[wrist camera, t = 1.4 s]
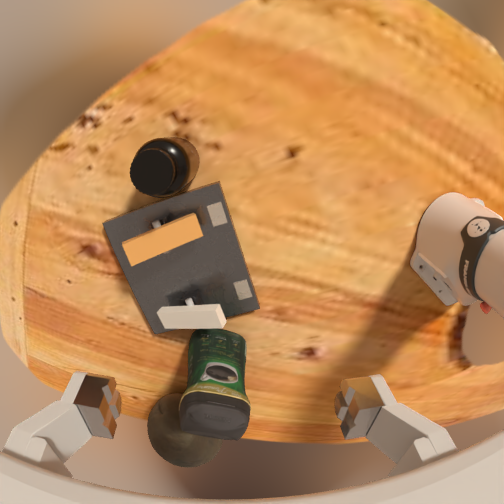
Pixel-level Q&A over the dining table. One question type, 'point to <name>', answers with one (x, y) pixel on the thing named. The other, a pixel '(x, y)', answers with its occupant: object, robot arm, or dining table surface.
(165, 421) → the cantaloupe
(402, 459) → the robot arm
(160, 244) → the paddle
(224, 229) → the panel
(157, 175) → the supplement bottle
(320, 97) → the dining table surface
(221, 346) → the coffee jar
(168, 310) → the paddle
